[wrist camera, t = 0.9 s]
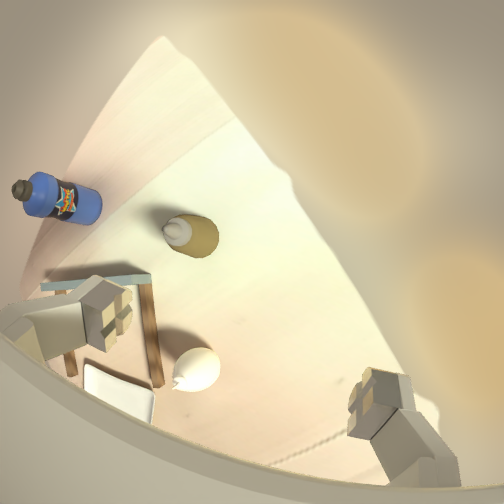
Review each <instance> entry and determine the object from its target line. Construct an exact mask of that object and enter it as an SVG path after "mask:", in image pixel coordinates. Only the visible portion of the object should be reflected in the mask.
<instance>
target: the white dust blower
mask: <svg viewBox="0 0 504 504" xmlns="http://www.w3.org/2000/svg"><path fill="white" fill-rule="evenodd" d="M219 373H220V360H219V358H218V356H217V354H216V353H215V352H214V351H212V350H211V349H208V348H200V347H199V348H193V349H191V350H188V351H186V352H185V353H183V354H182V355H181V356H180V357H179V358H178V360H177V361H176V363H175V365H174V369H173V385H174V387H173V388H172V389H175V388H176V389H178V390H182V391H187V392H194V391H200V390H203V389H205V388H207V387H209V386H211V385H212V384H213V383H214V382H215V381H216V379H217V378H218V376H219Z"/></svg>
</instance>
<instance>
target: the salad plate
mask: <svg viewBox="0 0 504 504" xmlns="http://www.w3.org/2000/svg"><path fill="white" fill-rule="evenodd" d="M84 390H85V391H87V392H89V393H90V394H92V395H94V396H96V397H97V398H99V399H101V400H103V401H105V402H107V403H108V404H110V405H112V406H114V407H116V408H118V409H120V410H122V411H124V412H126V413H128V414H130V415H132V416H134V417H136V418H138V419H140V420H142V421H144V422H147V423H149V424H151V425H152V419H153V412H154V406H155V394H154V392H153V391H151V390H149V389H146V388H144V387H141V386H138V385H135V384H132V383H129V382H126V381H124V380H121V379H118V378H116V377H114V376H112V375H110V374H107V373H105V372H103V371H101V370H99V369H98V368H96V367H94V366H92V365H89V364H85V366H84Z"/></svg>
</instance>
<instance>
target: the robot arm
mask: <svg viewBox="0 0 504 504" xmlns="http://www.w3.org/2000/svg"><path fill="white" fill-rule="evenodd" d="M131 301H132V291H131V290H130V289H128V288H126V287H123V286H121V285H119V284H117V283H114V282H112V281H110V280H108V279H105V278H103V277H101V276H99V275H93V276H91V277H90V278H88V279H87V280H86V281H84V282H83V283H82V284H80V285H79V286H78V287H77V288H75V289H74V290H73V291H71V292H70V293H69V294H67V295H66V294H59V295H54V296H48V297H43V298H38V299H33V300H28V301H23V302H18V303H13V304H8V305H7V306H6V307H5V308H3V309H2V310H0V504H504V483H499V484H490V485H480V486H467V487H461V480H460V474H459V467H458V461H457V457H456V456H455V455H454V453H453V452H452V451H451V450H450V448H449V447H448V446H447V445H446V443H445V442H444V441H443V440H442V438H441V437H440V436H439V435H438V433H437V432H436V431H435V430H434V428H433V427H432V426H431V425H430V424H429V422H428V421H427V420H426V419H425V417H424V416H423V415H422V414H421V413H420V412H417V411H416V406H415V400H414V395H413V389H412V384H411V379H410V377H409V375H405V374H400V373H393V372H389V371H384V370H380V369H375V368H371V367H368V368H367V369H366V370H365V371H364V373H363V374H362V381H361V382H359V383H357V384H356V385H355V387H354V389H353V390H352V393H351V395H350V398H349V403H348V410H349V412H350V413H351V416H350V418H349V419H348V427H347V436H350V437H355V438H360V439H365V440H370V443H371V445H372V447H373V449H374V451H375V453H376V455H377V457H378V459H379V461H380V463H381V465H382V467H383V469H384V471H385V473H386V475H387V477H388V479H389V480H390V483H388V484H387V485H386V486H381V485H370V484H361V483H353V482H345V481H338V480H332V479H326V478H320V477H315V476H310V475H305V474H300V473H295V472H291V471H286V470H282V469H278V468H274V467H270V466H266V465H262V464H259V463H255V462H251V461H248V460H245V459H241V458H238V457H235V456H232V455H228V454H225V453H222V452H219V451H216V450H213V449H211V448H208V447H205V446H202V445H199V444H197V443H194V442H192V441H189V440H186V439H184V438H181V437H179V436H176V435H174V434H171V433H169V432H167V431H164V430H162V429H160V428H158V427H155V426H153V425H151V424H149V423H147V422H144V421H142V420H140V419H138V418H136V417H134V416H132V415H130V414H128V413H126V412H124V411H122V410H120V409H118V408H116V407H114V406H112V405H110V404H108V403H107V402H105V401H103V400H101V399H99V398H97V397H96V396H94V395H92V394H90V393H89V392H87V391H85V390H84V389H82V388H80V387H78V386H77V385H75V384H73V383H72V382H70V381H69V380H67V379H65V378H64V377H62V376H61V375H59V374H58V373H56V372H55V371H53V370H51V369H50V368H48V367H47V366H46V365H45V362H44V361H47V360H49V359H52V358H54V357H57V356H59V355H62V354H65V353H67V352H70V351H72V350H75V349H77V348H80V347H82V346H85V345H87V344H89V345H91V346H93V347H95V348H97V349H99V350H101V351H103V352H105V353H107V352H108V351H109V350H110V348H111V347H112V346H113V345H114V344H115V343H116V342H117V341H116V336H119V335H122V334H124V333H125V332H126V331H127V329H128V327H129V325H130V323H131V320H132V309H131V307H130V305H129V303H130V302H131Z"/></svg>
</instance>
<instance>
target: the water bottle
mask: <svg viewBox="0 0 504 504" xmlns="http://www.w3.org/2000/svg"><path fill="white" fill-rule="evenodd" d="M12 194H13V196H14V198H15V199H18V200H19V201H23V207H24V210H25V212H26V213H27V214H28V215H30V216H34V217H40V218H44V217H54V218H56V219H59V220H61V221H66V222H71V223H76V224H82V225H91V224H93V223H94V222H95V221H96V220H97V219H98V218H99V216H100V214H101V210H102V199H101V196H100V194H99V193H98V192H97V191H95V190H92V189H89V188H86V187H83V186H80V185H77V184H74V183H68V182H62V181H60V180H58V179H56V178H55V177H54V176H52V175H49V174H46V173H43V172H37V173H35V174H33V175H32V176H31V177H30V179H29V180H28V181H26V180H18V181H17V182H16V183H15V184H14V185H13V186H12Z"/></svg>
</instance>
